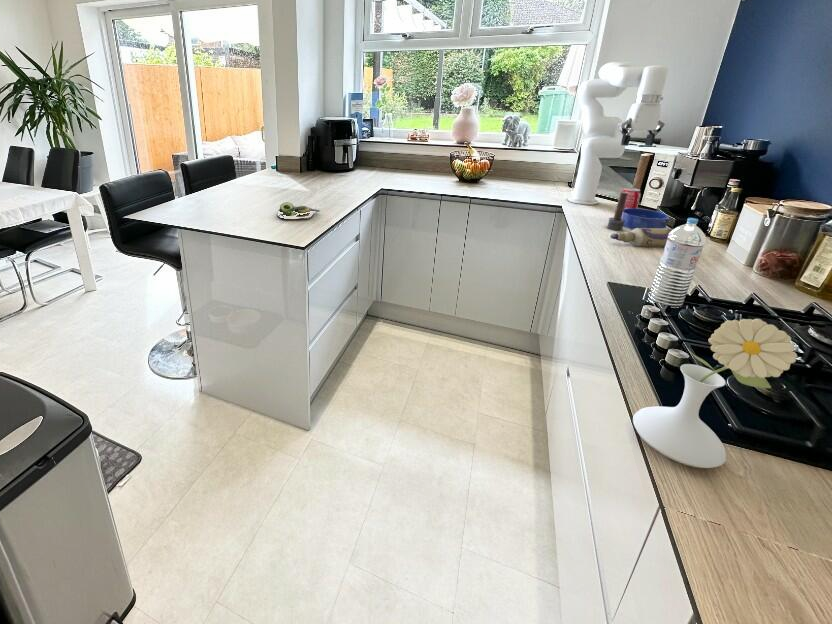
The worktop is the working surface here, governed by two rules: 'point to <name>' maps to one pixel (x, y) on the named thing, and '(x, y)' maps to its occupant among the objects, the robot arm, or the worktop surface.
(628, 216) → the blue bowl
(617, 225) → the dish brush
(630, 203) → the soda can
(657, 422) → the flower in vase
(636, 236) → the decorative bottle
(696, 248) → the water bottle
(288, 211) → the salad plate
